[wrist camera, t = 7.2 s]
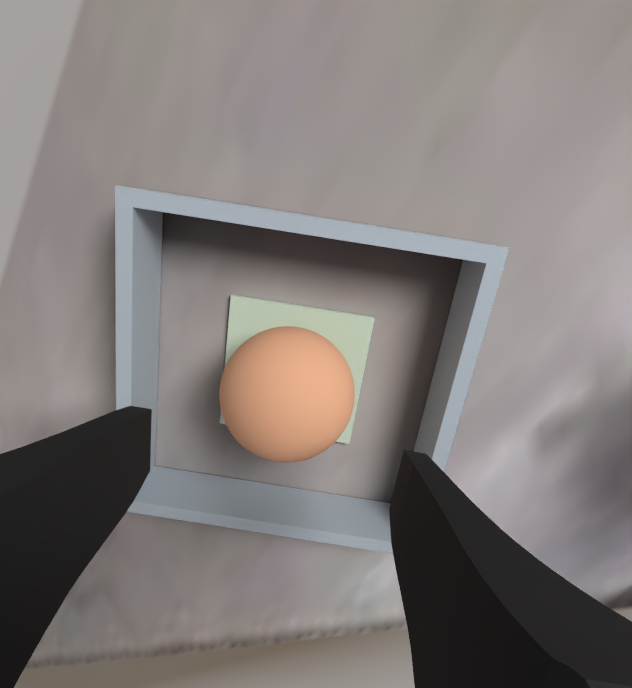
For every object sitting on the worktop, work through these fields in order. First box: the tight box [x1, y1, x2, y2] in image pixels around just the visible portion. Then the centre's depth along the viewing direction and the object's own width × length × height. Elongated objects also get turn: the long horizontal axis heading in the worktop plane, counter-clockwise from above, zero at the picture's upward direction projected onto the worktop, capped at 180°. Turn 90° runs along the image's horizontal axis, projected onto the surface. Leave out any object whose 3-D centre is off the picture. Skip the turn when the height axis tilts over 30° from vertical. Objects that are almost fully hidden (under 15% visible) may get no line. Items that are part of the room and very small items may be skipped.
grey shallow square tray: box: [115, 185, 509, 554], centre depth 17 cm, size 13×13×2 cm
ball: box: [219, 326, 355, 462], centre depth 15 cm, size 5×5×5 cm
